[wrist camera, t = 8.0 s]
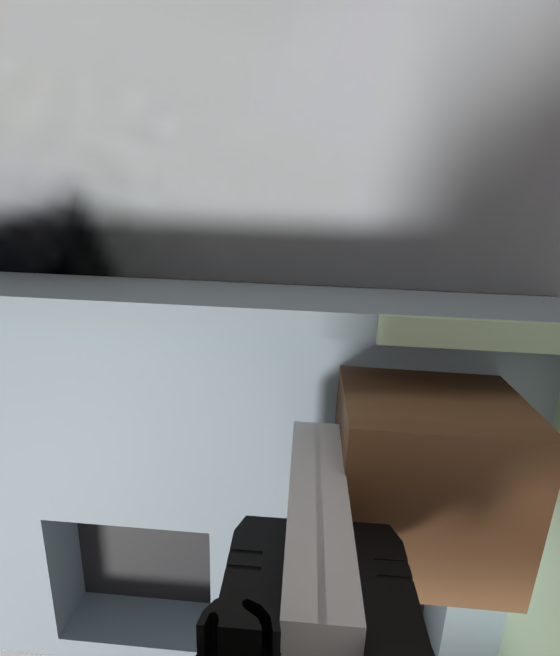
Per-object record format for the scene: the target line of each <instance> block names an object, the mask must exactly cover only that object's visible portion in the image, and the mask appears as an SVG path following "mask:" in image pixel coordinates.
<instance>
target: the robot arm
mask: <svg viewBox="0 0 560 656" xmlns="http://www.w3.org/2000/svg"><path fill="white" fill-rule="evenodd" d="M196 643H197V654H196V655H195V656H435V654H434V651H433V649H432V646H431V642H430V639H429V635H428V632H427V628H426V624H425V621H424V617H423V613H422V610H421V606H420V602H419V599H418V595H417V591H416V588H415V584H414V581H413V577H412V573H411V569H410V566H409V565H408V558H407V555H406V551H405V547H404V544H403V541H402V540H401V538H400V537H399V536H398V535H397V533H396V532H395V531H394V530H393V528H392V527H391V526H390V524H377V523H363V522H352V515H351V508H350V500H349V493H348V485H347V478H346V476H345V472H344V463H343V454H342V446H341V437H340V428H339V424H331V423H315V422H299V421H294V426H293V440H292V454H291V468H290V482H289V497H288V511H287V518H275V517H261V516H248V515H246V516H245V517H244V519H243V520H242V521H241V522H240V524H239V525H238V526H237V527H236V529H235V530H234V533H233V537H232V542H231V546H230V552H229V555H228V559H227V563H226V568H225V572H224V577H223V581H222V585H221V590H220V594H219V598H217V599H215V600H214V601H213V602H211V603H210V604H209V605H208V606H207V607H206V608H205V609H204V610H203V611H202V613H201V616H200V618H199V620H198V622H197V624H196Z"/></svg>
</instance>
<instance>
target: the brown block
mask: <svg viewBox="0 0 560 656" xmlns="http://www.w3.org/2000/svg"><path fill="white" fill-rule="evenodd" d="M335 424H339V428H340V437H341V446H342V454H343V463H344V472H345V476H346V478H347V485H348V493H349V500H350V508H351V515H352V522H363V523H377V524H390V526H391V527H392V528H393V530H394V531H395V532H396V533H397V535H398V536H399V537H400V538H401V540H402V541H403V544H404V547H405V551H406V555H407V558H408V565H409V566H410V569H411V573H412V577H413V581H414V584H415V588H416V591H417V595H418V599H419V602H420V604H425V605H436V606H447V607H457V608H468V609H479V610H489V611H500V612H511V613H522V614H527V612H528V608H529V604H530V601H531V597H532V593H533V589H534V585H535V581H536V578H537V574H538V570H539V566H540V562H541V558H542V555H543V551H544V547H545V543H546V539H547V535H548V532H549V528H550V524H551V520H552V516H553V512H554V509H555V505H556V501H557V497H558V493H559V489H560V433H559V432H558V431H557V430H556V429H555V428H554V427H553V426H552V425H551V424H550V423H549V422H548V421H547V420H546V419H545V418H544V417H542V416H541V415H540V414H539V413H538V412H537V411H536V410H535V409H534V408H533V407H532V406H531V405H530V404H529V403H528V402H527V401H526V400H525V399H524V398H523V397H522V396H521V395H520V394H519V393H518V392H517V391H516V390H515V389H514V388H512V387H511V386H510V385H509V384H508V383H507V382H506V381H505V380H504V379H503V378H502V377H501V376H498V375H482V374H466V373H450V372H434V371H419V370H403V369H387V368H371V367H355V366H340V368H339V380H338V392H337V404H336V416H335Z"/></svg>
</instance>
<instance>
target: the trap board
mask: <svg viewBox="0 0 560 656" xmlns="http://www.w3.org/2000/svg"><path fill="white" fill-rule="evenodd" d="M340 366H355V367H371V368H387V369H403V370H419V371H434V372H450V373H466V374H482V375H498V376H501V377H502V378H503V379H504V380H505V381H506V382H507V383H508V384H509V385H510V386H511V387H512V388H514V389H515V390H516V391H517V392H518V393H519V394H520V395H521V396H522V397H523V398H524V399H525V400H526V401H527V402H528V403H529V404H530V405H531V406H532V407H533V408H534V409H535V410H536V411H537V412H538V413H539V414H540V415H541V416H542V417H544V418H545V419H546V420H547V421H548V422H549V423H550V424H551V425H552V426H553V427H554V428H555V429H556V430H557V431H558V432H559V433H560V297H548V296H526V295H504V294H482V293H460V292H438V291H416V290H394V289H372V288H350V287H328V286H306V285H284V284H262V283H240V282H218V281H196V280H174V279H152V278H130V277H108V276H86V275H64V274H42V273H20V272H0V651H10V652H20V653H30V654H40V655H50V656H195V655H196V654H197V643H196V624H197V622H198V620H199V618H200V616H201V613H202V611H203V610H204V609H205V608H206V607H207V606H208V605H209V604H210V603H211V602H213V601H214V600H215V599H217V598H219V594H220V590H221V585H222V581H223V577H224V572H225V568H226V563H227V559H228V555H229V552H230V546H231V542H232V537H233V533H234V530H235V529H236V527H237V526H238V525H239V524H240V522H241V521H242V520H243V519H244V517H245V516H246V515H248V516H261V517H275V518H287V511H288V497H289V482H290V468H291V454H292V440H293V426H294V421H299V422H315V423H331V424H335V416H336V404H337V392H338V380H339V368H340ZM420 606H421V610H422V613H423V617H424V621H425V624H426V628H427V632H428V635H429V639H430V642H431V646H432V649H433V651H434V654H435V656H560V489H559V493H558V497H557V501H556V505H555V509H554V512H553V516H552V520H551V524H550V528H549V532H548V535H547V539H546V543H545V547H544V551H543V555H542V558H541V562H540V566H539V570H538V574H537V578H536V581H535V585H534V589H533V593H532V597H531V601H530V604H529V608H528V612H527V614H522V613H511V612H500V611H489V610H479V609H468V608H457V607H447V606H436V605H425V604H420Z"/></svg>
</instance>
